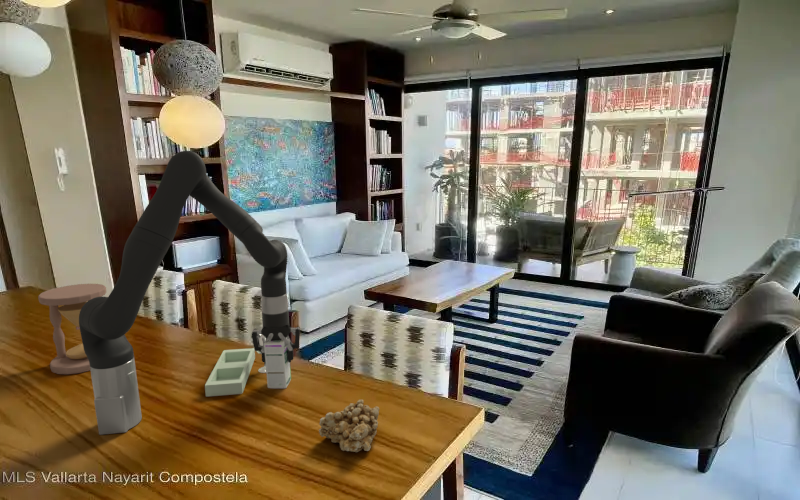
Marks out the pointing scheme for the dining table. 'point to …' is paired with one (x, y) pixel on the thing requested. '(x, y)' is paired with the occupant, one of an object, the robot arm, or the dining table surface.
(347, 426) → the mineral formation
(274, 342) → the syrup box
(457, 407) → the dining table surface
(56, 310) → the hourglass
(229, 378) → the tray
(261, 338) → the wineglass
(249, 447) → the dining table surface
